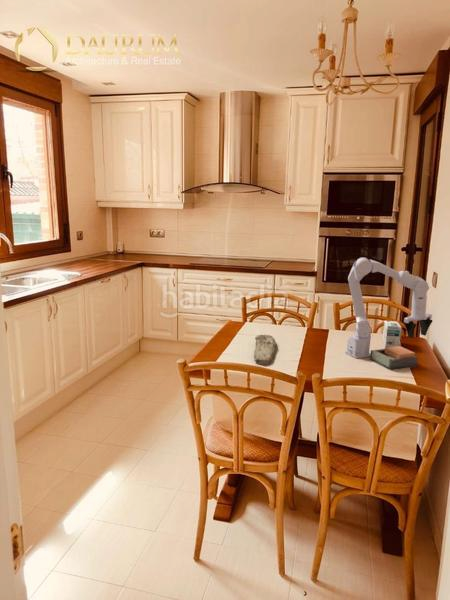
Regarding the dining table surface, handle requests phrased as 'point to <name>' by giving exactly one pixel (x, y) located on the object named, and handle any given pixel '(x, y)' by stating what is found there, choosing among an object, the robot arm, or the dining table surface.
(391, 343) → the light bulb box
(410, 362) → the roller bed
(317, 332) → the dining table surface
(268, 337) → the elongated rock
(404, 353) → the slab
